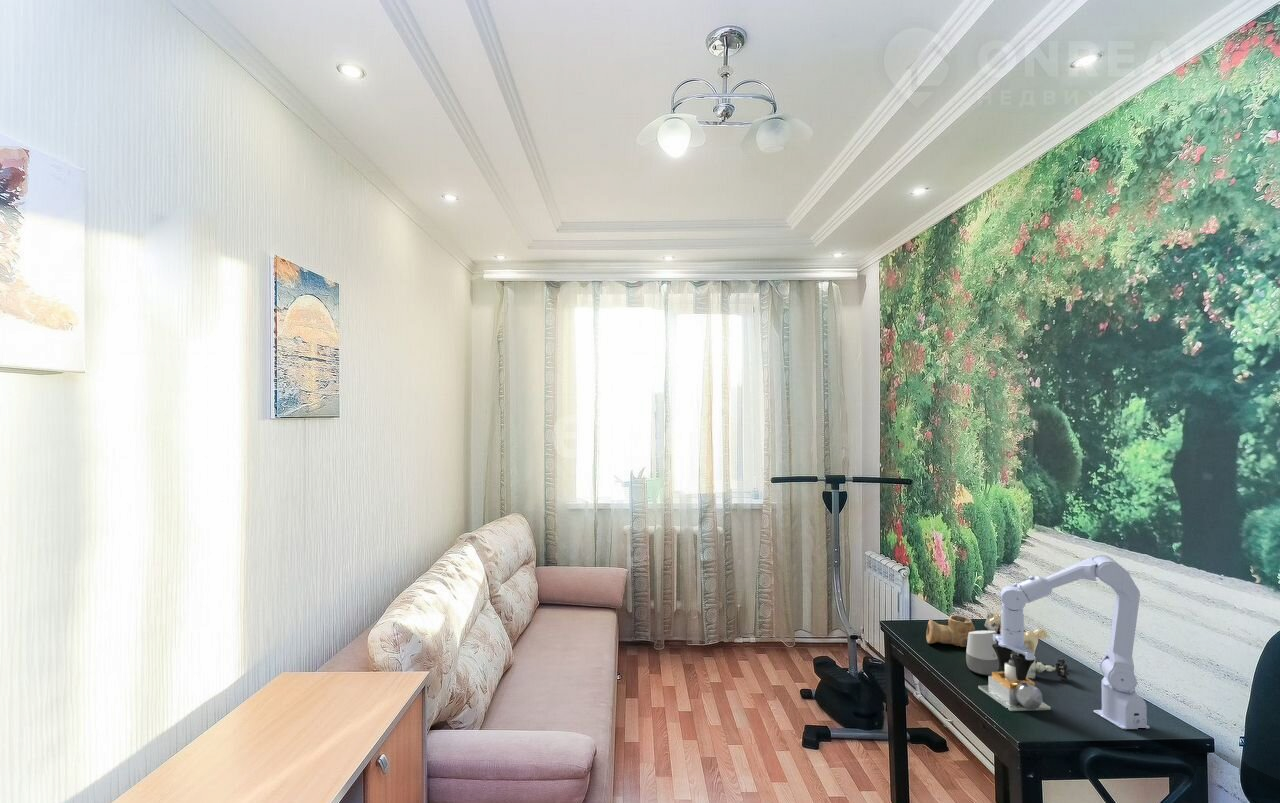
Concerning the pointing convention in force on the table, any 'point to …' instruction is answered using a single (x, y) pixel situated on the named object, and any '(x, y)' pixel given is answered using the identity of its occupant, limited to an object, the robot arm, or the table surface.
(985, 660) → the smart speaker
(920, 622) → the table surface
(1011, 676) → the white capped bottle
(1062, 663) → the valve
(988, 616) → the caster wheel
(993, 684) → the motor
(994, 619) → the horse figurine
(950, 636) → the pipe
